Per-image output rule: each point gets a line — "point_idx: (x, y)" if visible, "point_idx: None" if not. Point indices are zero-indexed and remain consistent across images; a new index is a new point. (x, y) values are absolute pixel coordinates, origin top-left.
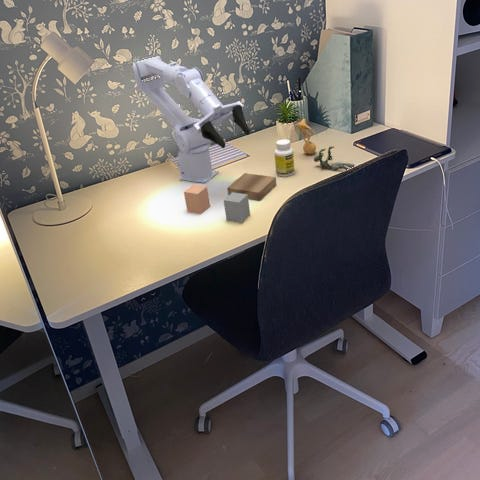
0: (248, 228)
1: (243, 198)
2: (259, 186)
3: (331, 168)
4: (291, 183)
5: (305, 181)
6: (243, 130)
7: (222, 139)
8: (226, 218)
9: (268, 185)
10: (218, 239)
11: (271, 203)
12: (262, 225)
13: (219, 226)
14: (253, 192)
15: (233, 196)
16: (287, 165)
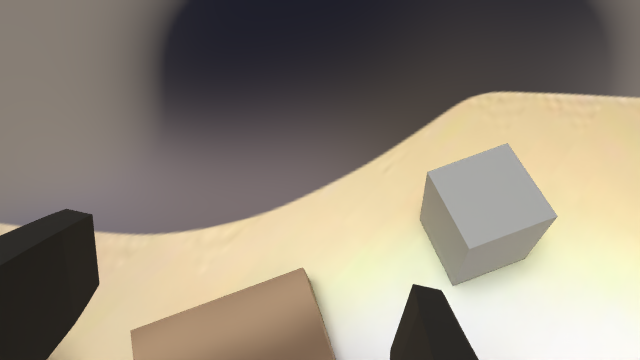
0: None
1: (466, 158)
2: (253, 317)
3: None
4: (110, 294)
5: None
6: (47, 341)
7: (424, 314)
8: (526, 254)
9: (213, 303)
10: (626, 169)
11: (297, 227)
12: (436, 132)
13: (575, 243)
14: (312, 298)
15: (493, 207)
16: None
